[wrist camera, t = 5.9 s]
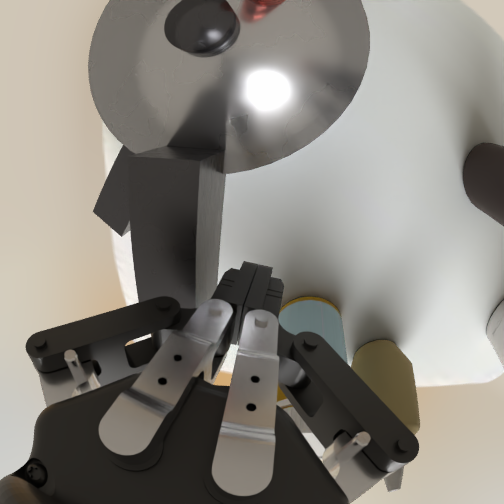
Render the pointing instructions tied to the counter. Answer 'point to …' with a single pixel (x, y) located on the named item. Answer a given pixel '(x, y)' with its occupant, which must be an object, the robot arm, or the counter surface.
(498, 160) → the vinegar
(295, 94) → the lid
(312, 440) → the bottle
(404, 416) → the squeeze bottle
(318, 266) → the counter surface
